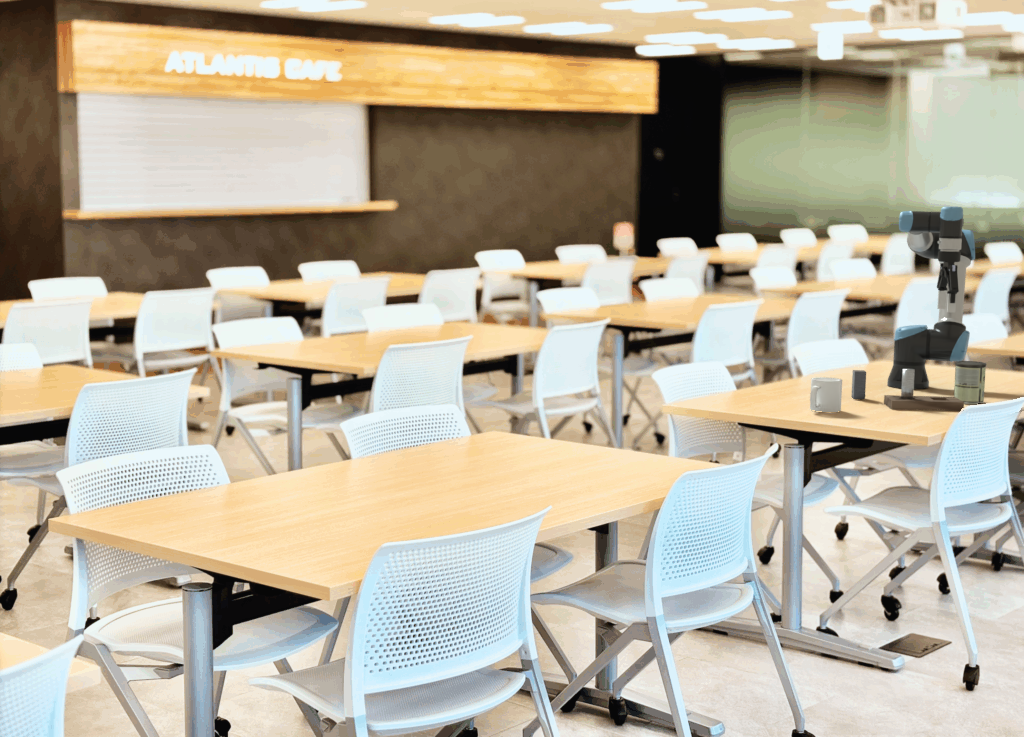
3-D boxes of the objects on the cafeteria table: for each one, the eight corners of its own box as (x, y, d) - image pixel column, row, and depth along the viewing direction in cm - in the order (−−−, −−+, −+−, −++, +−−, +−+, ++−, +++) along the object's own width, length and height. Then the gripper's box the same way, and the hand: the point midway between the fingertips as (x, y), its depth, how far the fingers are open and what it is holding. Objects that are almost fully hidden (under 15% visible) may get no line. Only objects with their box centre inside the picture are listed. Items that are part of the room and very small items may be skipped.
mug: (827, 415, 435) (828, 383, 434) (799, 411, 442) (800, 380, 440) (846, 410, 445) (847, 379, 444) (818, 407, 452) (820, 376, 450)
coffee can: (950, 399, 472) (952, 360, 471) (979, 400, 472) (982, 361, 470) (956, 404, 462) (959, 364, 460) (987, 405, 461) (989, 365, 459)
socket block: (883, 403, 461) (884, 395, 461) (954, 405, 459) (954, 396, 459) (891, 409, 449) (891, 400, 449) (963, 411, 448) (963, 402, 447)
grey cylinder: (899, 405, 457) (901, 368, 455) (911, 406, 457) (913, 368, 455) (902, 407, 453) (903, 370, 451) (913, 408, 453) (915, 370, 451)
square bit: (851, 397, 474) (852, 370, 472) (862, 398, 473) (864, 370, 472) (853, 399, 470) (854, 371, 468) (864, 399, 469) (866, 371, 468)
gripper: (930, 248, 479) (926, 307, 482) (947, 252, 454) (944, 313, 457) (951, 249, 478) (947, 307, 481) (970, 252, 454) (966, 314, 457)
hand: (946, 310), depth 469 cm, fingers open, 13 cm apart
